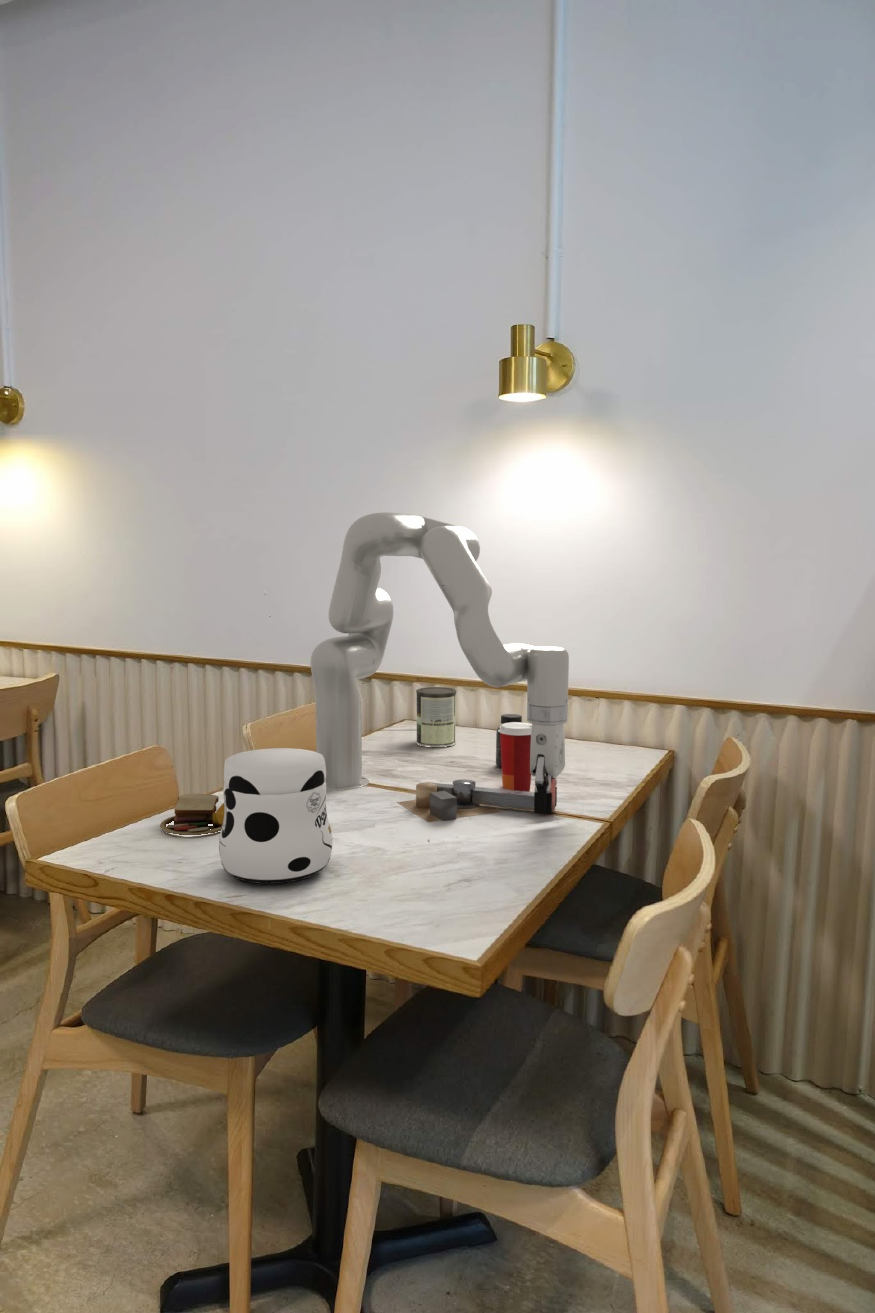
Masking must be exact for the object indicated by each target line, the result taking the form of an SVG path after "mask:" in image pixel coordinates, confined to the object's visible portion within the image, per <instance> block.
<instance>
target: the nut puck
mask: <svg viewBox="0 0 875 1313" xmlns="http://www.w3.org/2000/svg"><path fill="white" fill-rule="evenodd" d="M434 783H435V782H431V783H427V782H421V783H417V784H415V800H416V807H418V808H423V809H430V793H431V792H437V785H436V784H434Z"/></svg>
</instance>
